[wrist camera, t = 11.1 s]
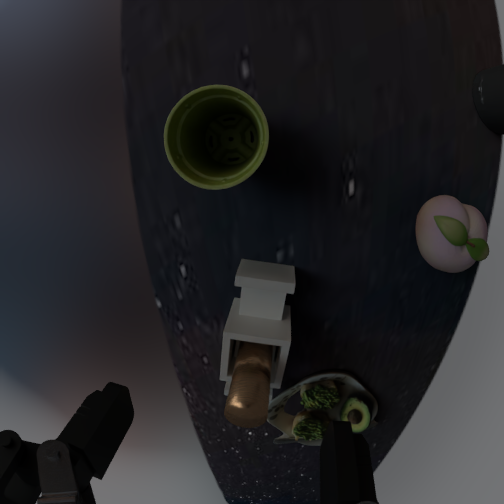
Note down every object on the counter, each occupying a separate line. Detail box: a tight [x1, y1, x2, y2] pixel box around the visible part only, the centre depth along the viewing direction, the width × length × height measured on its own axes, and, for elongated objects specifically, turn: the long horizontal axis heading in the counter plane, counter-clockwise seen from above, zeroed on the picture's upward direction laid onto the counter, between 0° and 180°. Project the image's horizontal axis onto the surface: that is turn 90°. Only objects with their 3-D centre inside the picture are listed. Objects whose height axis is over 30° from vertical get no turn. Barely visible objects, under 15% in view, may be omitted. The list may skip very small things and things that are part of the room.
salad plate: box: [267, 370, 378, 445], centre depth 44 cm, size 19×18×5 cm
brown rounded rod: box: [224, 340, 273, 428], centre depth 31 cm, size 4×4×12 cm
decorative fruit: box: [416, 195, 489, 273], centre depth 29 cm, size 9×8×10 cm
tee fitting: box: [220, 259, 296, 402], centre depth 37 cm, size 7×18×8 cm, turn 173°
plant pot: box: [164, 85, 269, 190], centre depth 29 cm, size 9×9×9 cm
